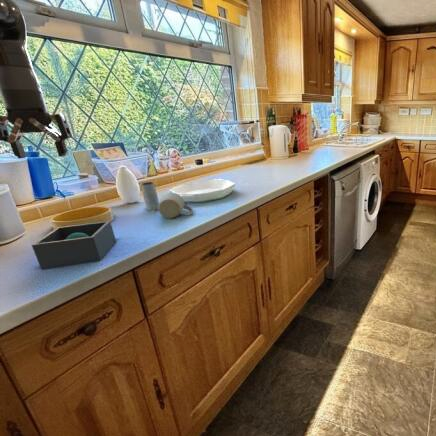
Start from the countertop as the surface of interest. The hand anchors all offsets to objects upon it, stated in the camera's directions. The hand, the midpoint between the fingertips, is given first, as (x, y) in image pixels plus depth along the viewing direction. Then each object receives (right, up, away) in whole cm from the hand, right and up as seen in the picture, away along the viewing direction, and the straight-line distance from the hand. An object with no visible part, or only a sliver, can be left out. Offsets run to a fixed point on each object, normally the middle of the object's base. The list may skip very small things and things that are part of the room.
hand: (43, 157), depth 78 cm
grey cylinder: (+6, -12, +40) cm, 42 cm away
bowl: (-9, -18, +25) cm, 32 cm away
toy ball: (+8, -25, +2) cm, 26 cm away
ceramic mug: (+19, -15, +32) cm, 40 cm away
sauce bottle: (-9, -9, +50) cm, 52 cm away
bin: (+8, -25, +3) cm, 27 cm away
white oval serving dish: (+19, -6, +56) cm, 60 cm away
